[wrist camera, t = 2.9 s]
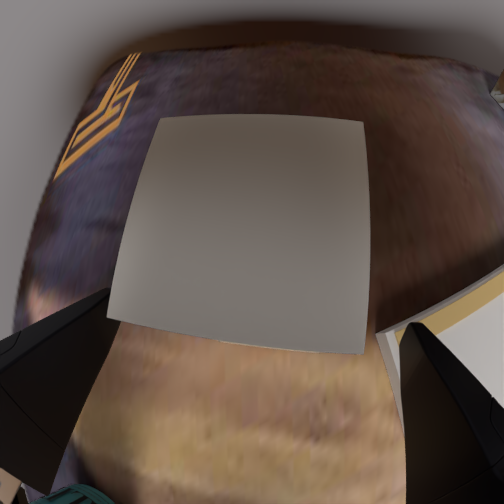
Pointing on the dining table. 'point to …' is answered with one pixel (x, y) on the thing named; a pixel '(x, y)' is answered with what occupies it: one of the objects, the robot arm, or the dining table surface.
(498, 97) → the coffee box
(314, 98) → the dining table surface
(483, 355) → the white rectangular slab
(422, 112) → the dining table surface
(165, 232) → the white stepped pillar
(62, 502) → the beverage bottle
